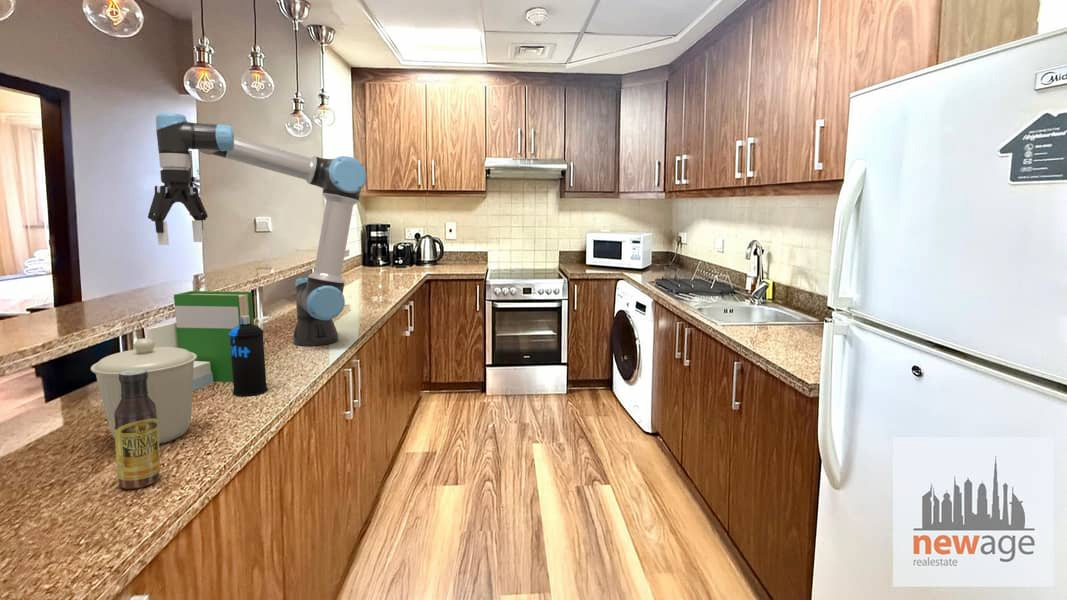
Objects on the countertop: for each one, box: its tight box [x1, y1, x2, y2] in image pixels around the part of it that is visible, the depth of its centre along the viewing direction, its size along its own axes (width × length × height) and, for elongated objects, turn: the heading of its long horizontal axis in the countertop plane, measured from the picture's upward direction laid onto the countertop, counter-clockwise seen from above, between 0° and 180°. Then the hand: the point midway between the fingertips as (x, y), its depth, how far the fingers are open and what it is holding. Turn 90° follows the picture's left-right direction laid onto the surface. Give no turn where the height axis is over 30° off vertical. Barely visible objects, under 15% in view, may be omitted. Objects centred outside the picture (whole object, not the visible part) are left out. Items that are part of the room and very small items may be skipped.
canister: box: [90, 337, 197, 445], centre depth 121 cm, size 18×18×21 cm
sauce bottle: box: [114, 369, 161, 490], centre depth 102 cm, size 7×6×20 cm
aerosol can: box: [228, 316, 269, 398], centre depth 152 cm, size 8×8×20 cm
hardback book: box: [173, 290, 255, 383], centre depth 164 cm, size 18×7×24 cm, turn 86°
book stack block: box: [193, 361, 214, 392], centre depth 158 cm, size 8×11×6 cm
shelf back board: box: [146, 321, 178, 348], centre depth 164 cm, size 19×1×16 cm, turn 170°
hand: (181, 243), depth 174 cm, fingers open, 13 cm apart
